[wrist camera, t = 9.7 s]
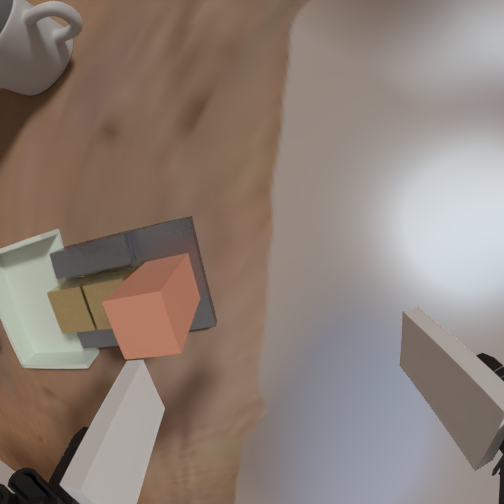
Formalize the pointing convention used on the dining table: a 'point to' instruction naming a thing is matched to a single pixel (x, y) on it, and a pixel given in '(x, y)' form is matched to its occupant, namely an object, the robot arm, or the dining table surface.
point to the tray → (37, 306)
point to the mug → (35, 44)
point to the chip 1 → (72, 305)
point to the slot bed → (133, 253)
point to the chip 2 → (104, 292)
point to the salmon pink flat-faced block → (154, 308)
